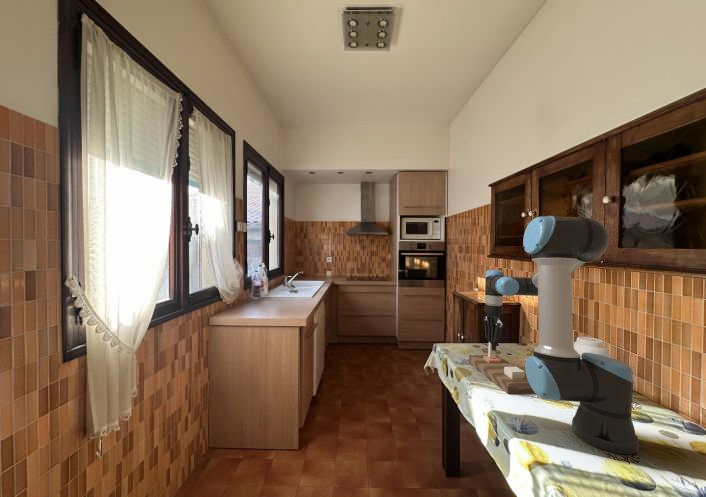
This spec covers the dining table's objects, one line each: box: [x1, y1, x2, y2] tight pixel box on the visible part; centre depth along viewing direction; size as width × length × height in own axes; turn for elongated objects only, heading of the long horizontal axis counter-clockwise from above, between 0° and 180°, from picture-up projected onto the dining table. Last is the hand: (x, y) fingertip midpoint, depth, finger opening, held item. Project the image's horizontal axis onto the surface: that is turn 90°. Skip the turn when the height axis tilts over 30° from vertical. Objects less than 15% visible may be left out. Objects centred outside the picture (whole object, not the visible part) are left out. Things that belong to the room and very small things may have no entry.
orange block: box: [483, 356, 500, 363], centre depth 139 cm, size 5×5×4 cm
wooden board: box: [468, 354, 537, 395], centre depth 131 cm, size 30×14×4 cm, turn 7°
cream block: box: [504, 366, 526, 379], centre depth 123 cm, size 5×5×4 cm
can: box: [573, 335, 611, 359], centre depth 122 cm, size 12×12×20 cm
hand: (491, 356), depth 139 cm, fingers closed
